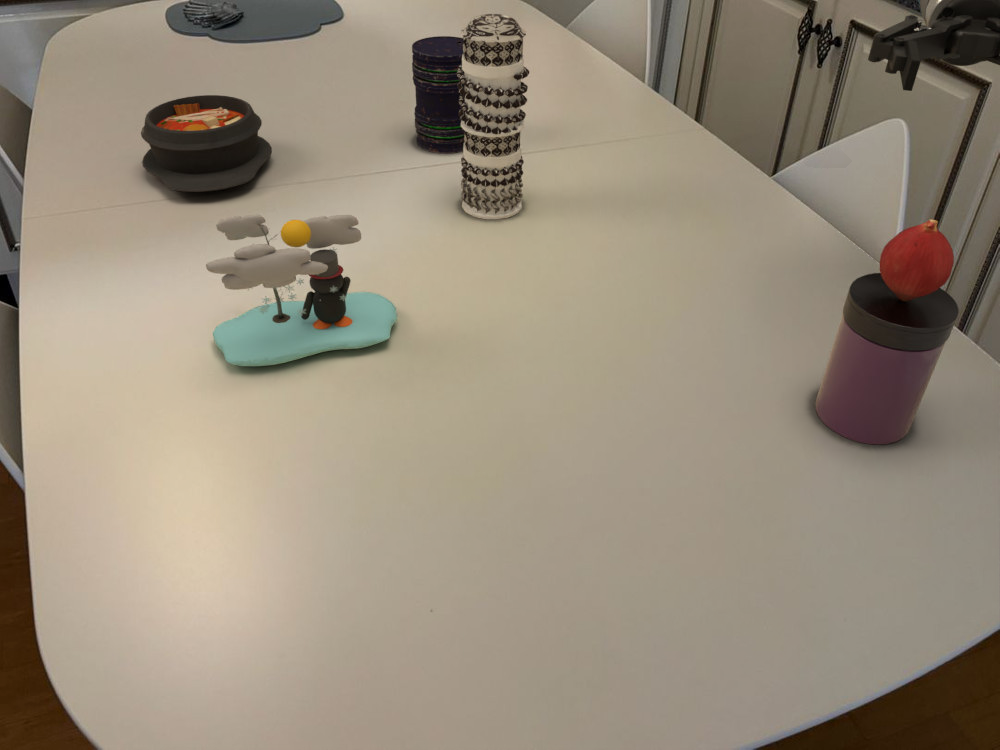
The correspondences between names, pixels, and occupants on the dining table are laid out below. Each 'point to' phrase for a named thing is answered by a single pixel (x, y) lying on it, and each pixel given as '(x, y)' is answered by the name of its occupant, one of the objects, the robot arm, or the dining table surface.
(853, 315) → the jar lid
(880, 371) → the jar
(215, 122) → the casserole
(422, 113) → the storage jar
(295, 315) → the penguin figurine
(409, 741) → the dining table surface
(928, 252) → the red pomegranate
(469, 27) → the decorative candle
